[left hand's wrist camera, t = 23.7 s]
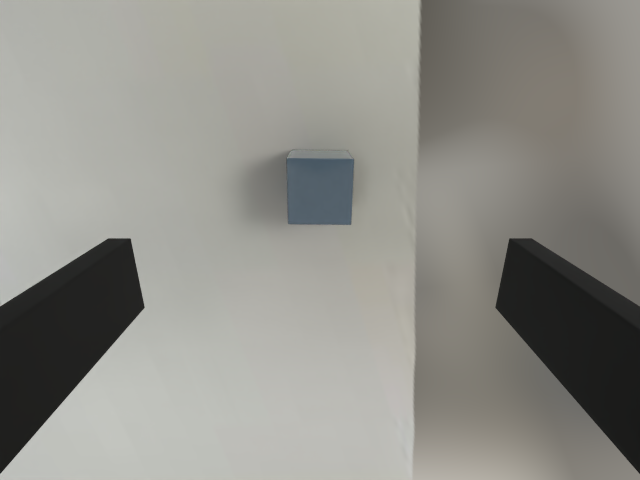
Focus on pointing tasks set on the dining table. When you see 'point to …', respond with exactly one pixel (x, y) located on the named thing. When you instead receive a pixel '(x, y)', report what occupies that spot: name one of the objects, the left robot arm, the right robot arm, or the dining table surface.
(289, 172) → the block
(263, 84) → the dining table surface
